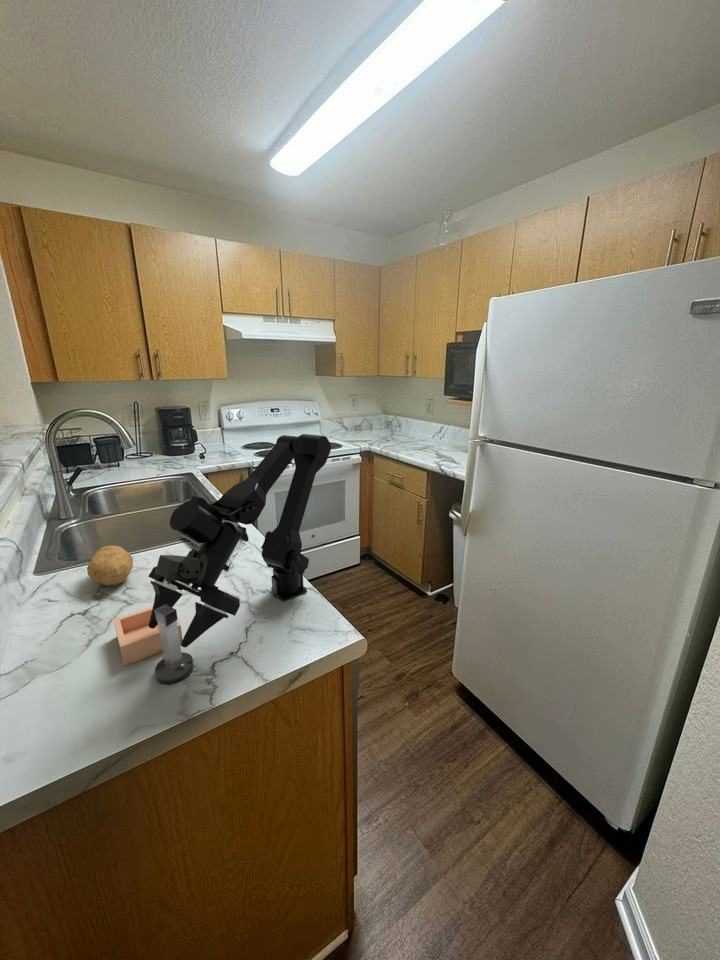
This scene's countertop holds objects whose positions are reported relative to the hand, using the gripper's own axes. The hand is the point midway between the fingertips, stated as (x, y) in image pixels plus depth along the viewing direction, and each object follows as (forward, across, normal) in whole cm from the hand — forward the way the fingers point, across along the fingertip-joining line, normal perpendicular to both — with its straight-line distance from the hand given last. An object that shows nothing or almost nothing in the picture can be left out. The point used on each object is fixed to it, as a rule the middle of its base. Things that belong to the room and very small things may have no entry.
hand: (166, 636), depth 65 cm
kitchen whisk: (-18, -37, +29) cm, 50 cm away
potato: (-2, -41, +13) cm, 43 cm away
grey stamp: (+5, 0, +6) cm, 8 cm away
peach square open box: (+3, -12, +7) cm, 14 cm away
